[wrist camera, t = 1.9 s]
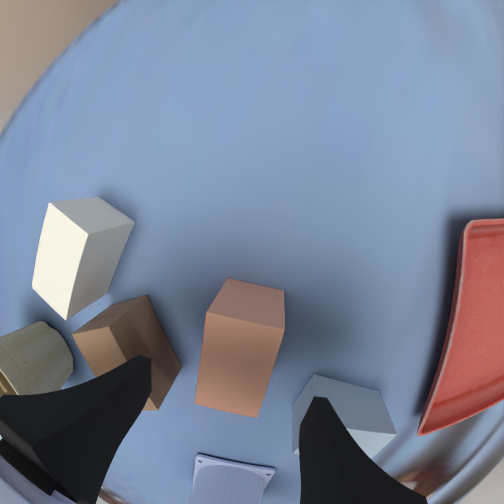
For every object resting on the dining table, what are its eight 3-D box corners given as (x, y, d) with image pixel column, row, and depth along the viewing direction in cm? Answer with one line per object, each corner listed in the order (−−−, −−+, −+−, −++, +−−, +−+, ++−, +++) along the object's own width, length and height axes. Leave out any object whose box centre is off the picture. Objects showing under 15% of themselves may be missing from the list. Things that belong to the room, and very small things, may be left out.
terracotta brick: (263, 367, 18) (257, 417, 13) (214, 356, 18) (194, 403, 13) (284, 289, 16) (284, 329, 11) (227, 277, 16) (206, 311, 12)
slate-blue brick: (379, 390, 17) (396, 434, 12) (355, 418, 18) (366, 462, 13) (313, 373, 17) (320, 423, 13) (292, 404, 18) (292, 453, 13)
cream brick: (107, 292, 18) (65, 320, 13) (76, 267, 18) (31, 287, 13) (135, 221, 16) (88, 233, 11) (99, 196, 16) (49, 202, 11)
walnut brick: (182, 366, 18) (158, 410, 14) (146, 370, 19) (118, 409, 14) (147, 294, 17) (108, 326, 12) (111, 304, 18) (71, 334, 13)
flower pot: (101, 360, 19) (43, 420, 11) (75, 398, 21) (34, 445, 13) (34, 285, 19) (-32, 319, 10) (21, 338, 21) (-27, 371, 12)
